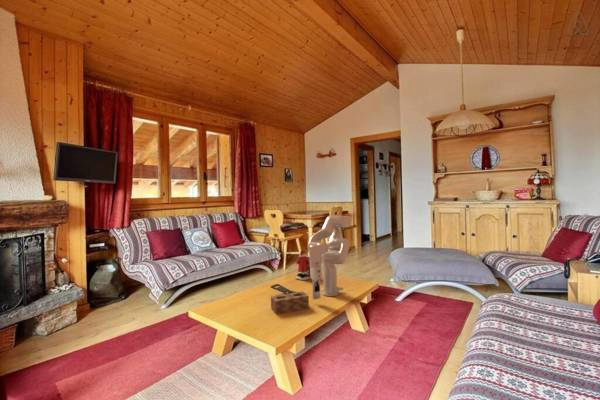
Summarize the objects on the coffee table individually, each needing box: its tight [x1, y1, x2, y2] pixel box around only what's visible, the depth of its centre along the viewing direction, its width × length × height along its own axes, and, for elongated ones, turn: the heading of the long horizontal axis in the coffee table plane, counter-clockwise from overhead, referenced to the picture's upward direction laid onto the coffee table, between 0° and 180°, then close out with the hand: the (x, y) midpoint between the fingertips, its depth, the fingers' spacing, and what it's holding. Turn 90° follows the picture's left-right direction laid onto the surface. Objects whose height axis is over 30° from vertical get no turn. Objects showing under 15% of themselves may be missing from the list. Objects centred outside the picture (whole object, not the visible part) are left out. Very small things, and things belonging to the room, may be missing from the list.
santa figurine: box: [295, 249, 311, 281], centre depth 262 cm, size 17×14×25 cm
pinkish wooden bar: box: [311, 280, 321, 300], centre depth 200 cm, size 4×2×12 cm, turn 111°
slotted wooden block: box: [270, 291, 310, 315], centre depth 194 cm, size 22×10×8 cm, turn 111°
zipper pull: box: [270, 283, 296, 294], centre depth 215 cm, size 9×7×25 cm
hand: (316, 290), depth 200 cm, fingers closed on pinkish wooden bar, 1 cm apart
